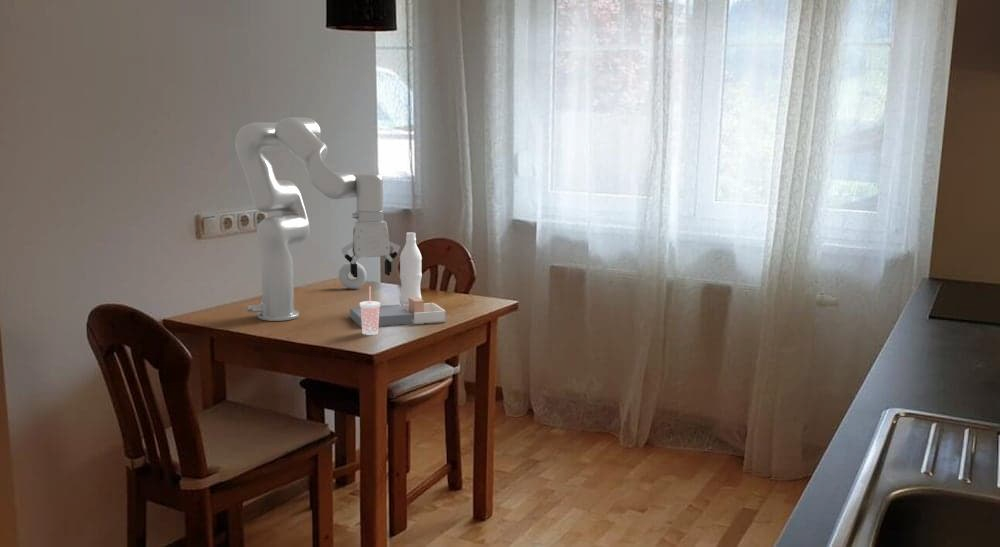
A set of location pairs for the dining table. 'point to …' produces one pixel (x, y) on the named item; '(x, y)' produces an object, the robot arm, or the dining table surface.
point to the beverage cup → (370, 316)
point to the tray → (429, 314)
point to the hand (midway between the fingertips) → (371, 275)
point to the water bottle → (410, 270)
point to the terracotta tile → (415, 305)
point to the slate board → (385, 315)
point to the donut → (348, 282)
